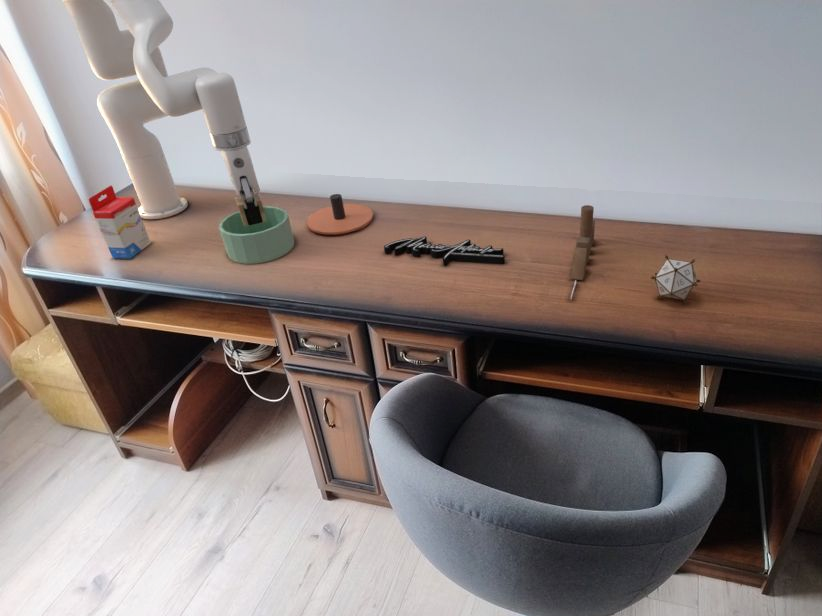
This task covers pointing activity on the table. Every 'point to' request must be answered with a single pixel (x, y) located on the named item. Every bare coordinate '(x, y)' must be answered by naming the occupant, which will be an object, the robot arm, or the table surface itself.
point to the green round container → (257, 237)
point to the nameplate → (447, 251)
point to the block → (241, 210)
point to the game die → (675, 279)
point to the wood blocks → (583, 244)
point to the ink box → (119, 224)
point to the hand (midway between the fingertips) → (253, 217)
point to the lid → (339, 217)
